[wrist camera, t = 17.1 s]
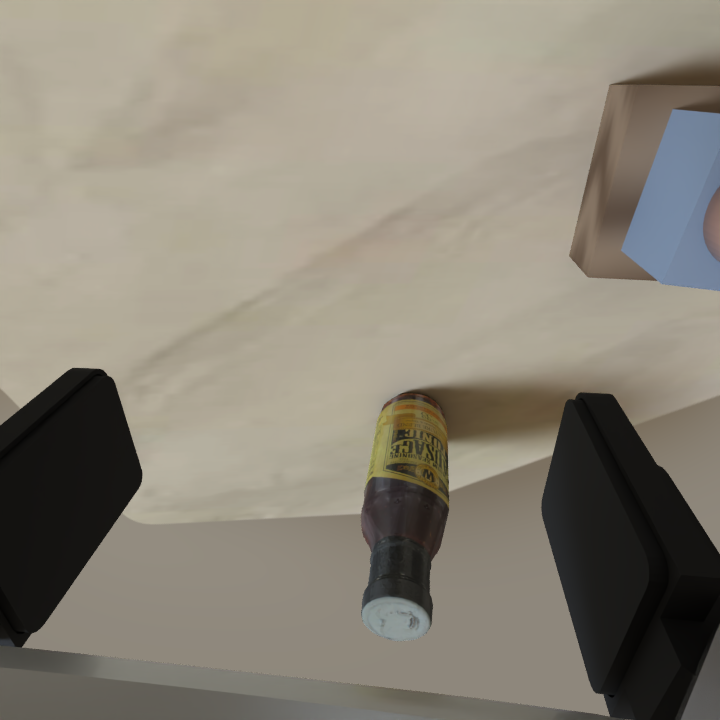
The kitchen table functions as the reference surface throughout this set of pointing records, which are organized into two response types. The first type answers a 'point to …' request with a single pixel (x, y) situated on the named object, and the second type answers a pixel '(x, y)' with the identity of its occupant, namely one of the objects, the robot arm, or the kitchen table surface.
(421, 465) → the sauce bottle
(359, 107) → the kitchen table surface
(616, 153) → the tower base
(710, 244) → the terracotta cylinder
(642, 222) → the tower middle
